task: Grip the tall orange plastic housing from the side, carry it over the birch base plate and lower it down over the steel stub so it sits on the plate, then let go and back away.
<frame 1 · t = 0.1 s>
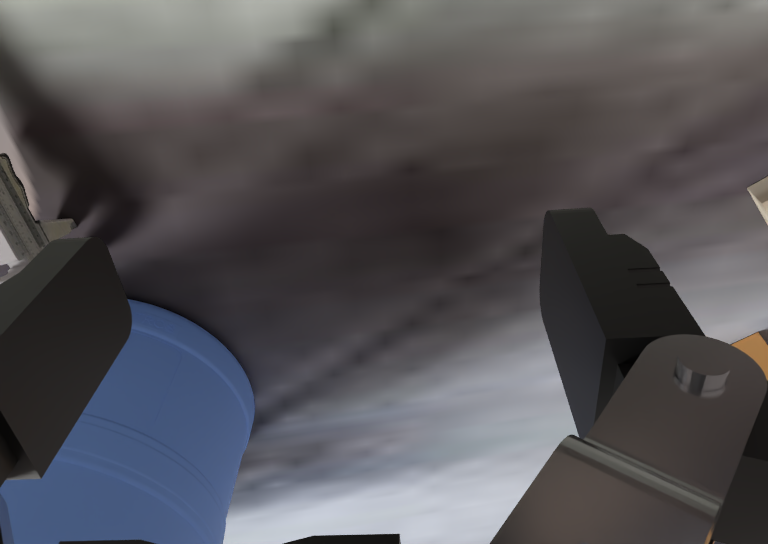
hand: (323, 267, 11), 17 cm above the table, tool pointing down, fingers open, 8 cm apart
housing: (729, 380, 37), on the table
water jug: (136, 382, 39), on the table
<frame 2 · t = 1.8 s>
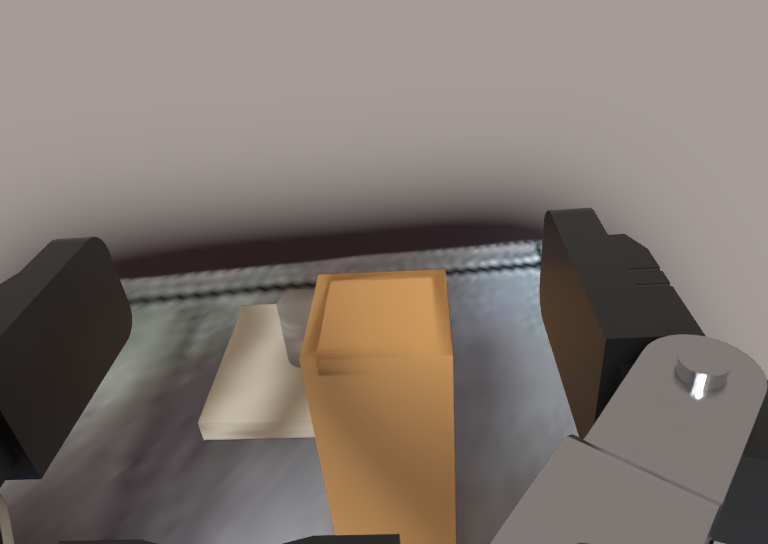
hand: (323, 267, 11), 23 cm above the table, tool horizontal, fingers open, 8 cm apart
stub plate: (311, 370, 42), on the table
housing: (400, 520, 32), on the table
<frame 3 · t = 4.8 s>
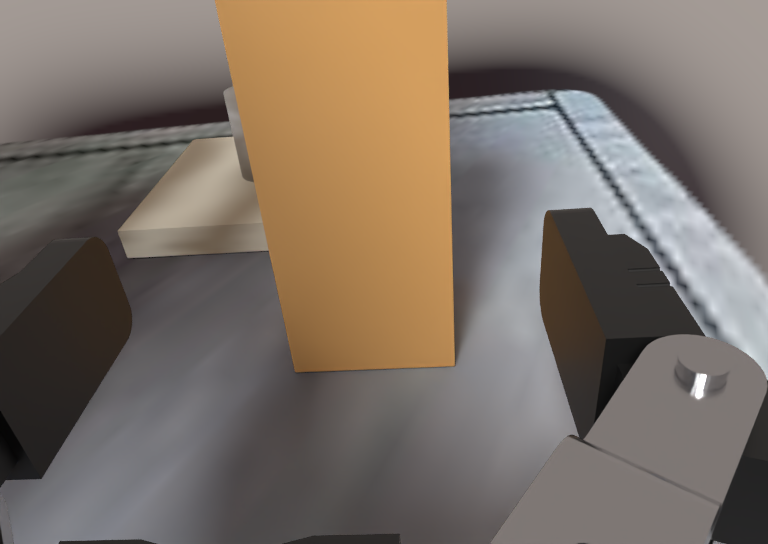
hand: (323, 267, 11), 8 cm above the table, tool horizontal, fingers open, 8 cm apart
stub plate: (272, 196, 34), on the table
housing: (377, 320, 23), on the table
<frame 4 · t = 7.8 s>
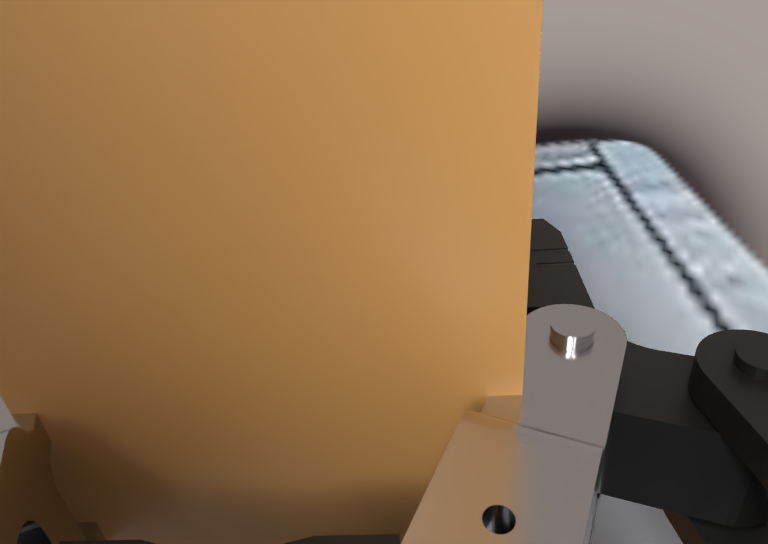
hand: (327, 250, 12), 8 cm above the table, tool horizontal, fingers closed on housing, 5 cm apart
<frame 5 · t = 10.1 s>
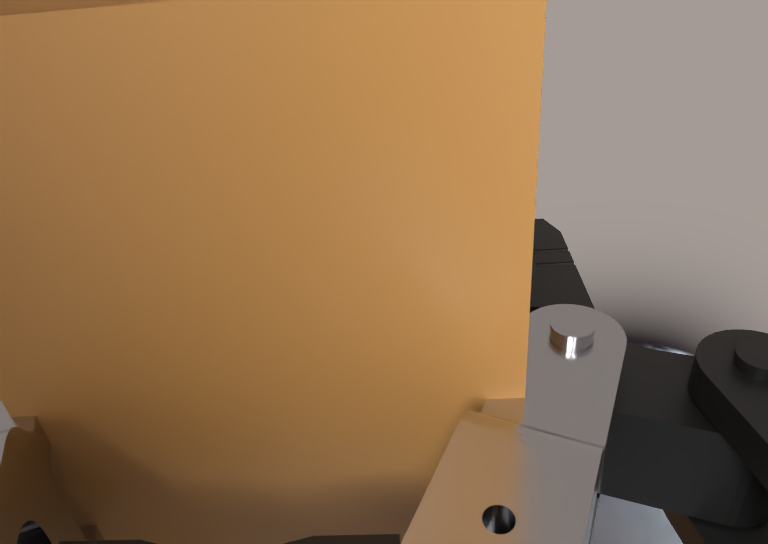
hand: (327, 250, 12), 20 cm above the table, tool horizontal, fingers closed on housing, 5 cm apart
when the fingers open (10 cm above the table, at t = 12.7 s): housing stays where it is, resting on stub plate.
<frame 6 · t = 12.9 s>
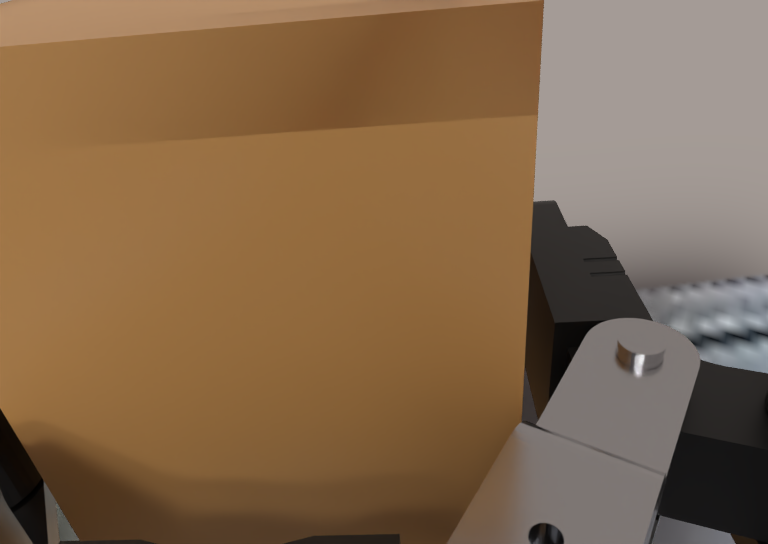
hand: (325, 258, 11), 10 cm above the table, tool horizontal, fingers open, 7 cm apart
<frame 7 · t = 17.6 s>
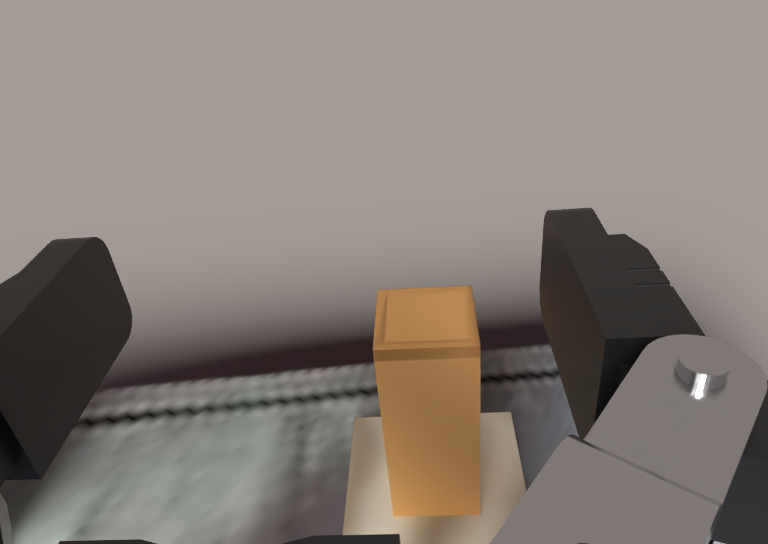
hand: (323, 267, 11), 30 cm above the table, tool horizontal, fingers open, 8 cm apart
stub plate: (435, 493, 42), on the table
housing: (435, 479, 41), point 1 cm above the table, touching stub plate
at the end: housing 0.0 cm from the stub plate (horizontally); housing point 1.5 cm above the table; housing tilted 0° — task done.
